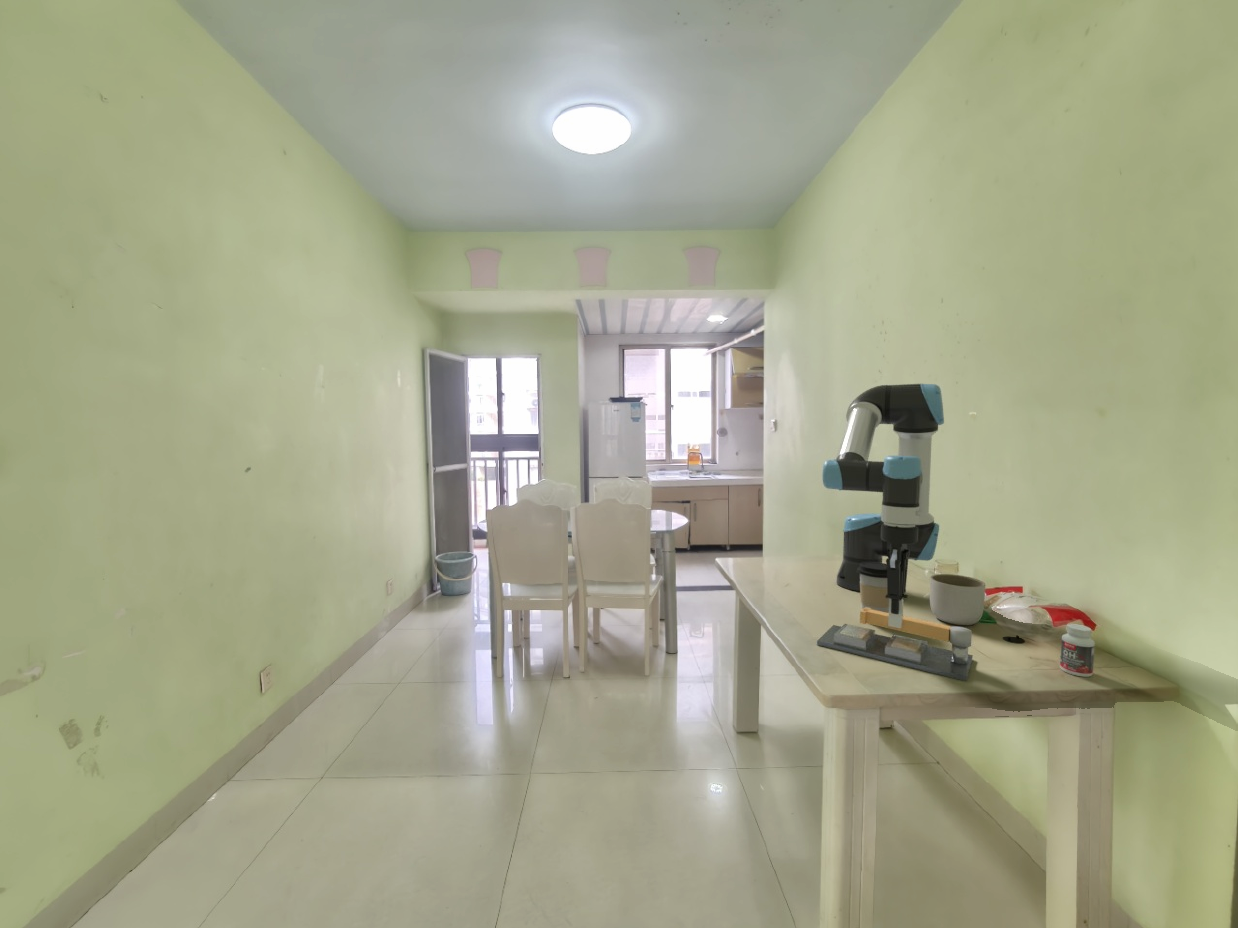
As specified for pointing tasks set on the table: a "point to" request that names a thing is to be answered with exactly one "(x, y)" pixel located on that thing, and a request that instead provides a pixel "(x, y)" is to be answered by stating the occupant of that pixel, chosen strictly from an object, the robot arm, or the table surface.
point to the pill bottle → (1077, 651)
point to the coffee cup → (874, 586)
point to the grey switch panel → (899, 650)
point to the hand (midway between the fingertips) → (895, 626)
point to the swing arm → (920, 627)
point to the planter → (957, 598)
